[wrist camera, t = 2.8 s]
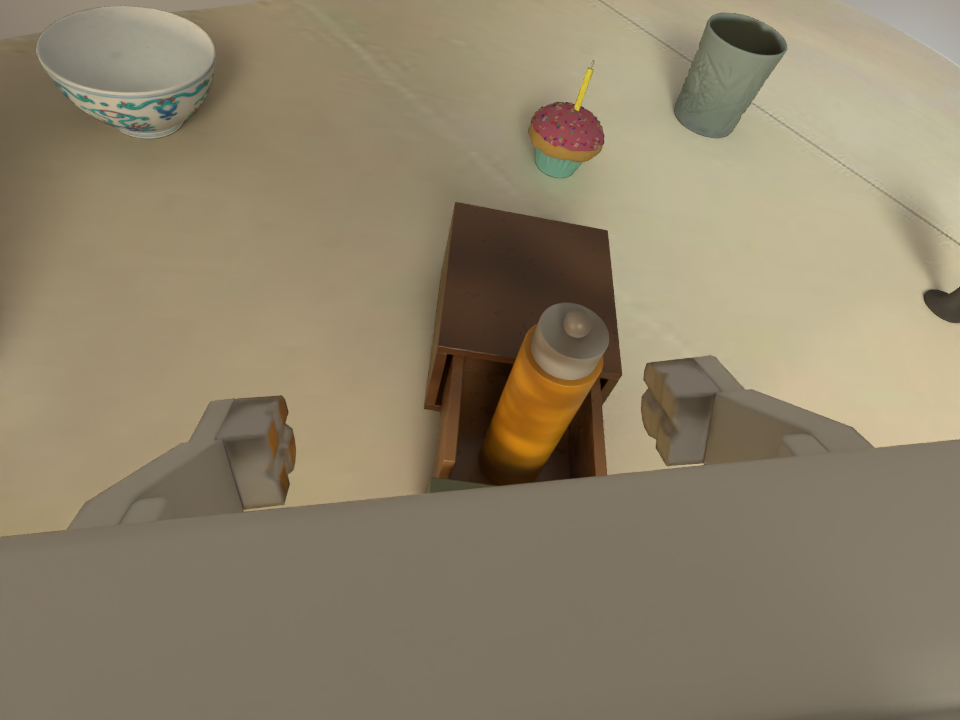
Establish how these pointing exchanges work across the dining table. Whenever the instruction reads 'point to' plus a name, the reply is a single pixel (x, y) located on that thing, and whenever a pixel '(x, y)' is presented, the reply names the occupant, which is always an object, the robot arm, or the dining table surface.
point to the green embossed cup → (727, 73)
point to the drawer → (469, 416)
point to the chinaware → (130, 66)
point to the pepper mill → (543, 392)
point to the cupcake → (565, 135)
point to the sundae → (944, 304)
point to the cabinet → (516, 288)
